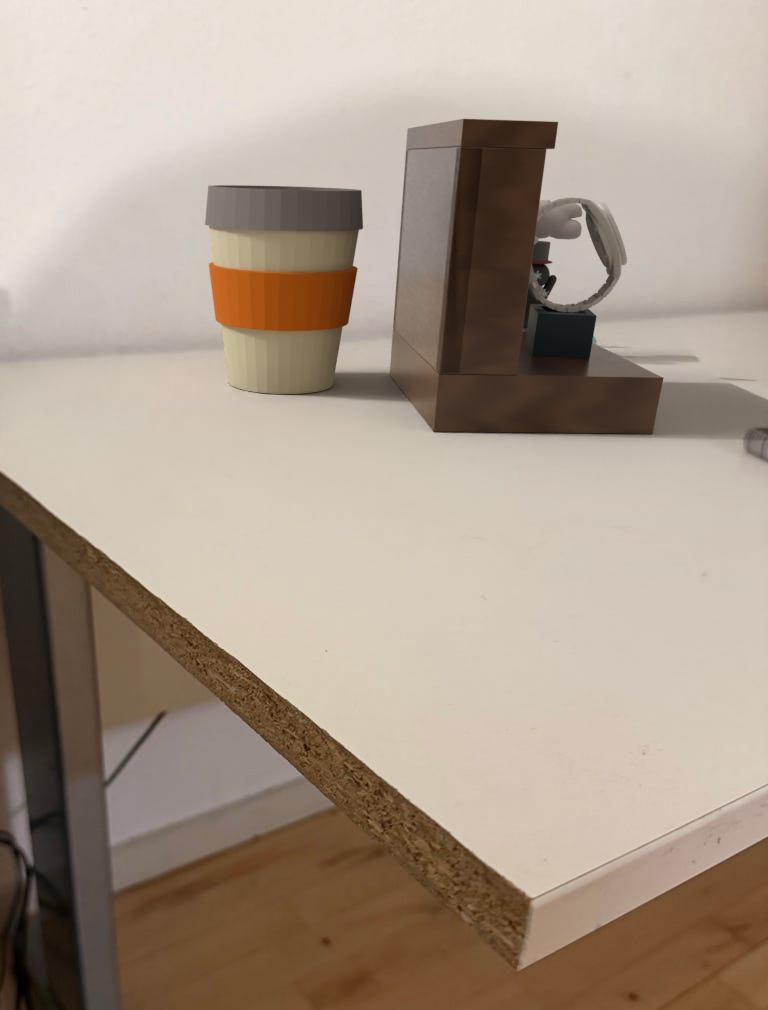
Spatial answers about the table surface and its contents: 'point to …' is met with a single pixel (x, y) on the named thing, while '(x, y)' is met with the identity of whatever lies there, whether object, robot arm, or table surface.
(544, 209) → the watch
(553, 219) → the penguin figurine
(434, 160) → the shelf
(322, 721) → the table surface
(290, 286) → the reusable coffee cup
